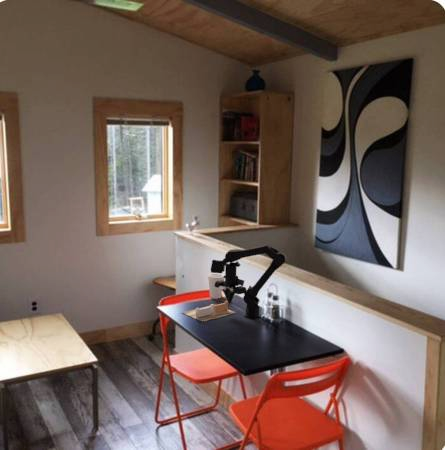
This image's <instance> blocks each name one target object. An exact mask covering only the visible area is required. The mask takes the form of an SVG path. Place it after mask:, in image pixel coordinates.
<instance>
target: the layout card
mask: <svg viewBox="0 0 445 450" xmlns="http://www.w3.org/2000/svg"><path fill="white" fill-rule="evenodd" d="M209 306H210V305H207V306H203V307H198V308H199V309H201V308H205V307H209ZM182 313H183V315H184V316H187V315H188V316H187V317H189V316H190V318H192V319H194V320H196V319H197V321H199V322H201V321H202V323H204V322H207V321H211V319H212V320H216V319H220V318H222V317H227V316H231V315H235V314H237V312H236V311H233V310H230V309H228V310H227V311H222V312H218V313H214V315H211V314H210V315H206V316H203V317H199V318H196V308H195V309H190V310H186V311H182V312H181V314H182ZM203 321H204V322H203Z"/></svg>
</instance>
